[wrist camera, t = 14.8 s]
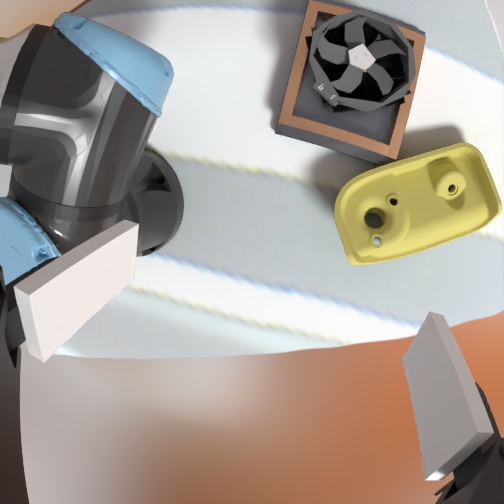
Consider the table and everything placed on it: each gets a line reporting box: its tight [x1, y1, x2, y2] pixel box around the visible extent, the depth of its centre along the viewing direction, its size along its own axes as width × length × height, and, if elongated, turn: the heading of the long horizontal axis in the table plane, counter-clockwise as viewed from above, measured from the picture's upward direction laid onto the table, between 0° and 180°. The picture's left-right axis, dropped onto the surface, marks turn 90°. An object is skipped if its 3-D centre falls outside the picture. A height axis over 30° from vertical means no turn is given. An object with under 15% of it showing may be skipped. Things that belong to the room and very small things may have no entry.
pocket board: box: [275, 0, 426, 166], centre depth 30 cm, size 14×18×3 cm
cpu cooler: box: [305, 9, 416, 113], centre depth 26 cm, size 10×6×10 cm
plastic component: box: [334, 142, 502, 265], centre depth 34 cm, size 20×7×10 cm
